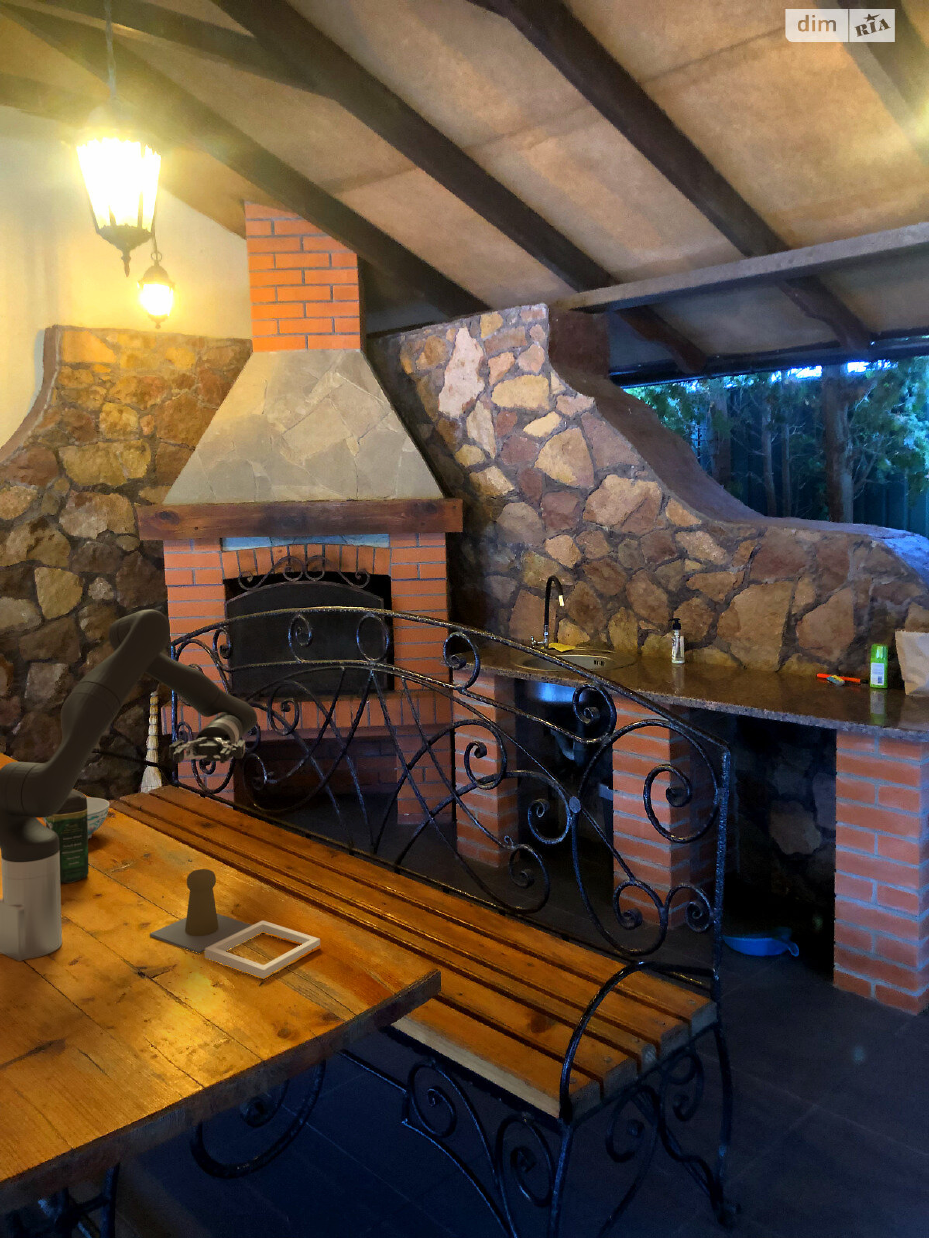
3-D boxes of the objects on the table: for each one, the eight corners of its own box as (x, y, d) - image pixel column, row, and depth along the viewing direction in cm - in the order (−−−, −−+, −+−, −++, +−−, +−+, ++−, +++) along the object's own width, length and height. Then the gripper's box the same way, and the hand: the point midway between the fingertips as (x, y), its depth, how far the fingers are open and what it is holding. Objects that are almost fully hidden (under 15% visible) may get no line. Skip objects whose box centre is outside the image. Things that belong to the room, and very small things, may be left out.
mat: (199, 954, 161) (199, 951, 161) (149, 935, 168) (149, 933, 168) (253, 927, 172) (253, 925, 172) (204, 911, 179) (204, 909, 179)
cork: (177, 931, 169) (176, 873, 168) (201, 919, 174) (200, 863, 173) (202, 938, 166) (201, 879, 165) (225, 926, 172) (225, 869, 170)
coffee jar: (93, 879, 195) (91, 793, 193) (53, 887, 190) (50, 799, 188) (82, 865, 203) (80, 782, 201) (43, 872, 198) (40, 788, 196)
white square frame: (263, 980, 152) (263, 969, 152) (204, 958, 160) (204, 948, 160) (320, 948, 164) (320, 938, 164) (262, 929, 172) (262, 920, 171)
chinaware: (63, 853, 210) (62, 820, 209) (29, 839, 219) (28, 807, 218) (122, 836, 222) (121, 805, 221) (88, 823, 231) (87, 793, 230)
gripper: (183, 721, 193) (162, 739, 177) (252, 721, 194) (236, 739, 178) (184, 756, 194) (162, 777, 178) (252, 756, 195) (237, 777, 179)
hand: (199, 758), depth 178 cm, fingers open, 8 cm apart
